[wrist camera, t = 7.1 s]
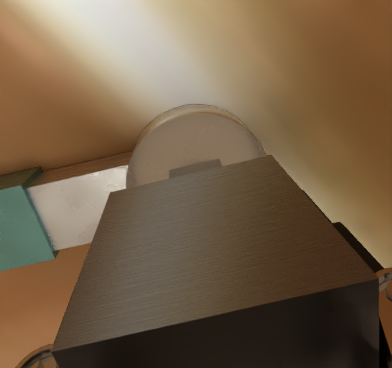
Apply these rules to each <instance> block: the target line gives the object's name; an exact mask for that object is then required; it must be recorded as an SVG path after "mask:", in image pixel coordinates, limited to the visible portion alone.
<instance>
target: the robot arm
mask: <svg viewBox="0 0 392 368" xmlns="http://www.w3.org/2000/svg"><path fill="white" fill-rule="evenodd" d="M302 191H303V190H302ZM303 192H304V191H303ZM304 193H305V192H304ZM305 194H306V193H305ZM306 195H307V194H306ZM307 197H308V198H309V199H310V200H311V198H310V197H309V196H308V195H307ZM311 201H312V200H311ZM312 202H313V201H312ZM313 203H314V202H313ZM314 205H315V206H316V207H317V208H318V209H319V207H318V206H317V205H316V204H315V203H314ZM319 210H320V209H319ZM320 211H321V210H320ZM321 213H322V214H323V215H324V216H325V217H326V215H325V214H324V213H323V212H322V211H321ZM326 218H327V217H326ZM327 219H328V218H327ZM328 221H329V222H330V223H331V224H332V225H333V226H334V227H335V229H336V230H337V231H338V232H339V233H340V234H341V235H342V237H343V238H344V239H345V240H346V241H347V242H348V243H349V245H350V246H351V247H352V248H353V249H354V250H355V251H356V252H357V254H358V255H359V256H360V257H361V258H362V259H363V260H364V262H365V263H366V264H367V265H368V266H369V267H370V268H371V270H372V271H373V272H374V273H375V274H376V275H377V276H378V278H379V368H392V268H385V269H384V268H383V267H382V266H381V265H380V264H379V263H378V261H377V260H376V259H375V258H374V257H373V256H372V255H371V254H370V253H369V252H368V251H367V250H366V249H365V248H364V246H363V245H362V244H361V243H360V242H359V241H358V240H357V239H356V238H355V237H354V236H353V235H352V234H351V233H350V231H349V230H348V229H347V228H346V227H345V226H344V225H343V224H342V223H340V222H336V223H332V222H331V221H330V220H329V219H328ZM75 286H76V285H75ZM73 291H74V290H73ZM72 294H73V293H72ZM71 297H72V296H71ZM70 299H71V298H70ZM69 302H70V301H69ZM68 305H69V304H68ZM67 307H68V306H67ZM66 310H67V309H66ZM65 313H66V312H65ZM63 318H64V317H63ZM62 321H63V320H62ZM60 326H61V325H60ZM59 329H60V328H59ZM58 332H59V331H58ZM57 334H58V333H57ZM56 337H57V336H56ZM55 340H56V339H55ZM54 342H55V341H54ZM53 345H54V344H48V345H45V346H42V347H40V348H38V349H36V350H35V351H33V352H31V353H30V354H29V355H27V356H26V357H25V358H24V359H22V361H21V362H20V363H19V364H18V365H17V366H16V367H15V368H59V366H58V364H57V362H56V360H55V359H54V357H53V355H52V353H51V350H52V348H53Z"/></svg>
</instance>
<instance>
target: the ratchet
mask: <svg viewBox="0 0 392 368" xmlns="http://www.w3.org/2000/svg"><path fill="white" fill-rule="evenodd" d="M265 156H267V155H266V153H265V151H264V149H263V147H262V146H261V144H260V143H259V142H258V140H257V139H256V138H255V137H254V135H253V134H252V133H251V132H250V131H249V130H248V128H247V127H246V126H245V125H244V124H243V123H242V122H241V121H240V120H239V119H238V118H236V117H235V116H234V115H232V114H230V113H229V112H227V111H225V110H223V109H220V108H217V107H214V106H210V105H202V104H191V105H184V106H180V107H176V108H173V109H171V110H169V111H166V112H164V113H163V114H161V115H159V116H158V117H156V118H155V119H154V120H153V121H152V122H150V123H149V125H148V126H147V127H146V128H145V129H144V130H143V132H142V133H141V135H140V136H139V138H138V140H137V142H136V144H135V147H134V150H133V151H130V152H125V153H121V154H117V155H112V156H108V157H104V158H99V159H95V160H91V161H86V162H82V163H78V164H74V165H69V166H65V167H61V168H56V169H52V170H48V171H43V172H42V171H41V168H40V167H36V168H32V169H28V170H23V171H19V172H15V173H10V174H6V175H2V176H0V271H4V270H8V269H12V268H17V267H21V266H26V265H30V264H35V263H39V262H43V261H48V260H52V259H55V258H56V256H57V254H58V252H59V250H60V249H64V248H69V247H73V246H78V245H82V244H86V243H91V242H92V240H93V237H94V235H95V232H96V229H97V226H98V224H99V221H100V218H101V216H102V213H103V210H104V208H105V205H106V202H107V200H108V197H109V194H110V192H114V191H118V190H122V189H127V188H131V187H135V186H140V185H144V184H148V183H152V182H157V181H161V180H165V179H170V178H174V177H178V176H183V175H187V174H191V173H196V172H200V171H204V170H208V169H213V168H217V167H221V166H226V165H230V164H234V163H239V162H243V161H247V160H252V159H256V158H260V157H265Z"/></svg>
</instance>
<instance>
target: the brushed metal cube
mask: <svg viewBox="0 0 392 368" xmlns="http://www.w3.org/2000/svg"><path fill="white" fill-rule="evenodd" d="M51 353H52V355H53V357H54V359H55V360H56V362H57V364H58V366H59V368H379V278H378V276H377V275H376V274H375V273H374V272H373V271H372V270H371V268H370V267H369V266H368V265H367V264H366V263H365V262H364V260H363V259H362V258H361V257H360V256H359V255H358V254H357V252H356V251H355V250H354V249H353V248H352V247H351V246H350V245H349V243H348V242H347V241H346V240H345V239H344V238H343V237H342V235H341V234H340V233H339V232H338V231H337V230H336V229H335V227H334V226H333V225H332V224H331V223H330V222H329V221H328V219H327V218H326V217H325V216H324V215H323V214H322V213H321V211H320V210H319V209H318V208H317V207H316V206H315V205H314V203H313V202H312V201H311V200H310V199H309V198H308V197H307V195H306V194H305V193H304V192H303V191H302V190H301V189H300V187H299V186H298V185H297V184H296V183H295V182H294V181H293V179H292V178H291V177H290V176H289V175H288V174H287V173H286V171H285V170H284V169H283V168H282V167H281V166H280V165H279V163H278V162H277V161H276V160H275V159H274V158H273V157H272V155H269V156H265V157H260V158H256V159H252V160H247V161H243V162H239V163H234V164H230V165H226V166H221V167H217V168H213V169H208V170H204V171H200V172H196V173H191V174H187V175H183V176H178V177H174V178H170V179H165V180H161V181H157V182H152V183H148V184H144V185H140V186H135V187H131V188H127V189H122V190H118V191H114V192H110V194H109V197H108V200H107V202H106V205H105V208H104V210H103V213H102V216H101V218H100V221H99V224H98V226H97V229H96V232H95V235H94V237H93V240H92V243H91V245H90V248H89V251H88V253H87V256H86V259H85V261H84V264H83V267H82V270H81V272H80V275H79V278H78V280H77V283H76V286H75V288H74V291H73V294H72V297H71V299H70V302H69V305H68V307H67V310H66V313H65V315H64V318H63V321H62V323H61V326H60V329H59V332H58V334H57V337H56V340H55V342H54V345H53V348H52V350H51Z"/></svg>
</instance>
